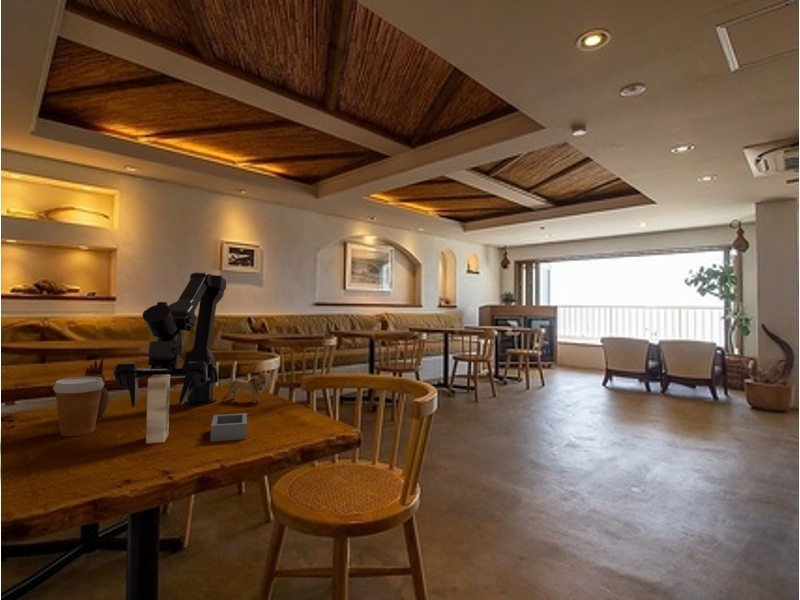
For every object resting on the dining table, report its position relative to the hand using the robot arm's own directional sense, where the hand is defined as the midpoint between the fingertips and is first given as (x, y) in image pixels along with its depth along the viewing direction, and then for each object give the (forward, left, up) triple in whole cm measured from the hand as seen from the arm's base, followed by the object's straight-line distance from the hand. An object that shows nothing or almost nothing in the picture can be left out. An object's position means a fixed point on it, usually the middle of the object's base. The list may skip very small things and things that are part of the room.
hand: (157, 405), depth 94 cm
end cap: (-10, +11, -8) cm, 17 cm away
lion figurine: (-38, -7, -8) cm, 39 cm away
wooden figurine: (-7, -31, -8) cm, 33 cm away
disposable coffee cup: (+3, -21, -8) cm, 22 cm away
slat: (-1, -1, -8) cm, 8 cm away
